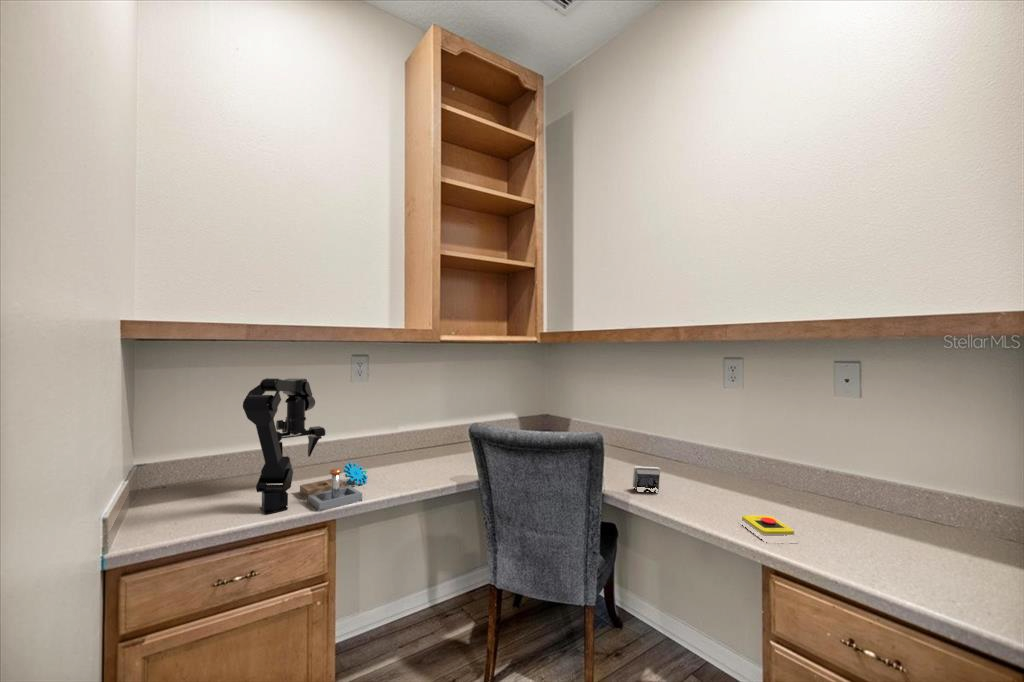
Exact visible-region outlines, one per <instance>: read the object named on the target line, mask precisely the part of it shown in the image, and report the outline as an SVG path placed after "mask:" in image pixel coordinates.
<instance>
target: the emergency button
mask: <svg viewBox="0 0 1024 682" xmlns="http://www.w3.org/2000/svg"><path fill="white" fill-rule="evenodd" d="M741 521H744V522H745V523H746V524H748V525H749V526H750V527H752V528H753V529H755V530H756V531H757V532H759V533H760V534H761V535H763V536H784V535H785V536H787V535H794V536H795V530H794V529H792V528H791V527H789V526H788V525H786V524H785V523H783V522H781V521H780V520H779V519H777V518H775V517H773V516H772V515H742V517H741Z"/></svg>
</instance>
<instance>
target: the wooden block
mask: <svg viewBox="0 0 1024 682" xmlns="http://www.w3.org/2000/svg"><path fill="white" fill-rule="evenodd" d="M339 488H344V483H343V482H341V481H340V480H339ZM330 490H332V478H329V479H325V480H318V481H314V482H310V483H305V484H300V485H299V495H301V496H302V495H303V496H304V497H303V496H302V497H303V498H305V499H306V498H307V499H306V500H308V495H312V494H316V493H321V492H325V491H330Z"/></svg>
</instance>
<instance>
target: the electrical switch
mask: <svg viewBox="0 0 1024 682" xmlns="http://www.w3.org/2000/svg"><path fill="white" fill-rule="evenodd" d="M660 475H661V468H660V467H657V466H638V465H637V466H636V465H635V466H634V467H633V474H632V488H633V487H635V488H636V490H637V487H645V488H650V489H651V488H652V489H653V488H655V487H656V488H657V489H658V491H659V490H660ZM636 490H635V491H636Z"/></svg>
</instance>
